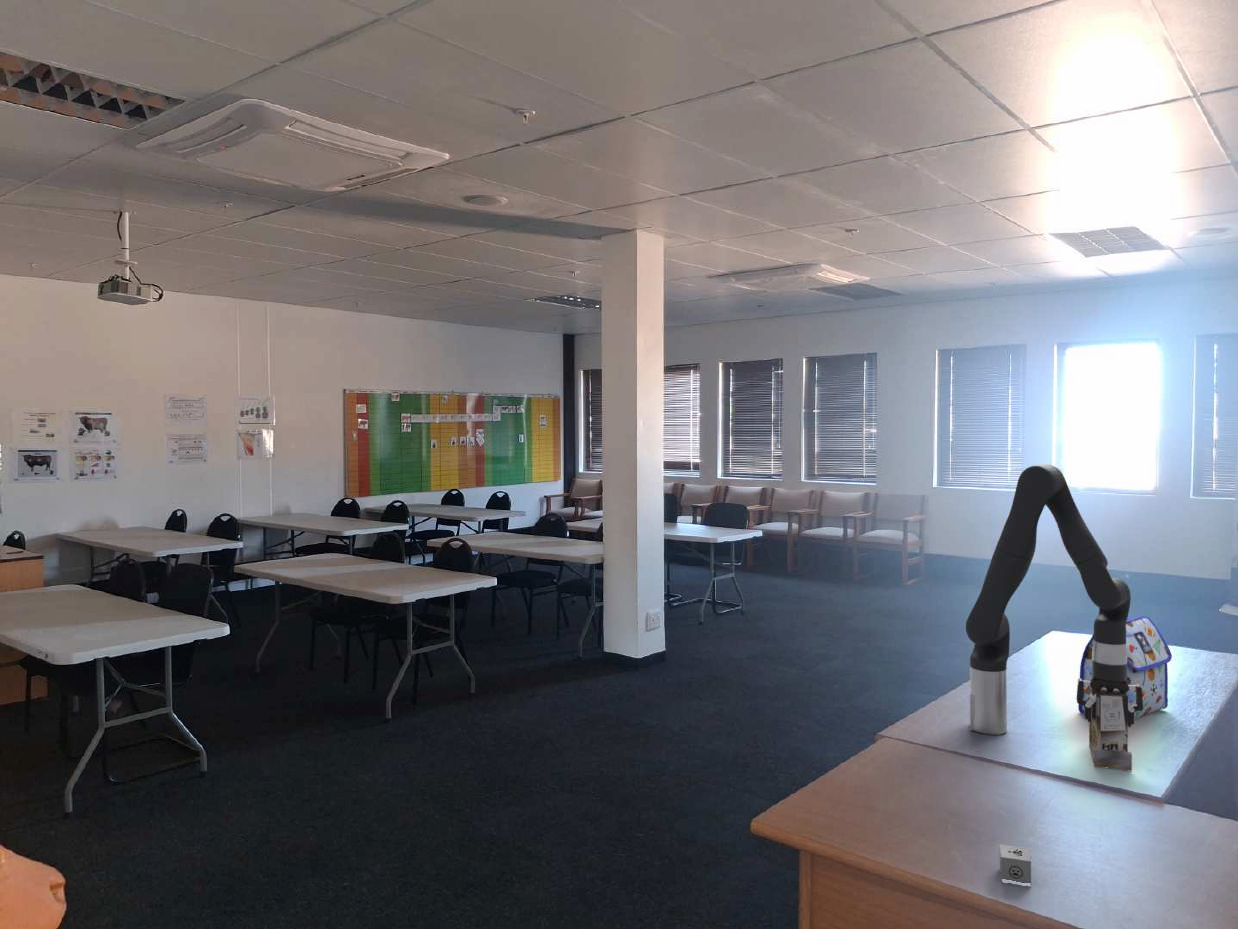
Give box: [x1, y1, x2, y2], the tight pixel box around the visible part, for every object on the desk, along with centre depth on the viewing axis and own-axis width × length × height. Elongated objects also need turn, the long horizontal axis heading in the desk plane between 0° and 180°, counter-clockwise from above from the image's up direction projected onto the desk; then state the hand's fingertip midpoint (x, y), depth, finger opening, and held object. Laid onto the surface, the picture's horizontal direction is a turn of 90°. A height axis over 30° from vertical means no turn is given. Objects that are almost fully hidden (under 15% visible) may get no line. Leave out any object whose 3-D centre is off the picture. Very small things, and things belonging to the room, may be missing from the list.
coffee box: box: [1089, 686, 1129, 752], centre depth 213 cm, size 9×6×16 cm
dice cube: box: [999, 844, 1032, 884], centre depth 160 cm, size 5×5×5 cm
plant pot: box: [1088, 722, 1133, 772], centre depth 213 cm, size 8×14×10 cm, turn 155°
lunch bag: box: [1077, 615, 1173, 720], centre depth 244 cm, size 23×17×27 cm
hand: (1108, 723), depth 213 cm, fingers open, 8 cm apart
